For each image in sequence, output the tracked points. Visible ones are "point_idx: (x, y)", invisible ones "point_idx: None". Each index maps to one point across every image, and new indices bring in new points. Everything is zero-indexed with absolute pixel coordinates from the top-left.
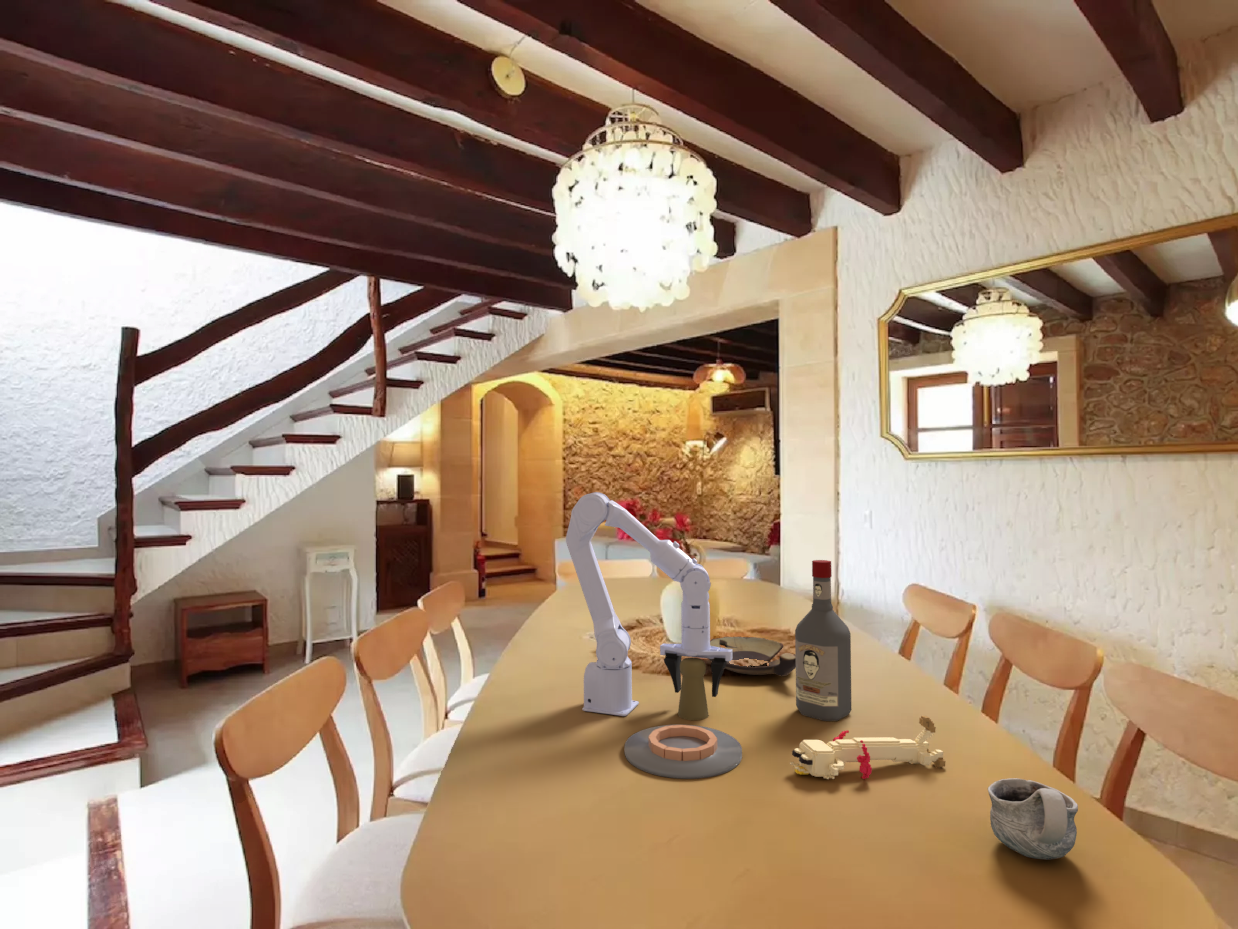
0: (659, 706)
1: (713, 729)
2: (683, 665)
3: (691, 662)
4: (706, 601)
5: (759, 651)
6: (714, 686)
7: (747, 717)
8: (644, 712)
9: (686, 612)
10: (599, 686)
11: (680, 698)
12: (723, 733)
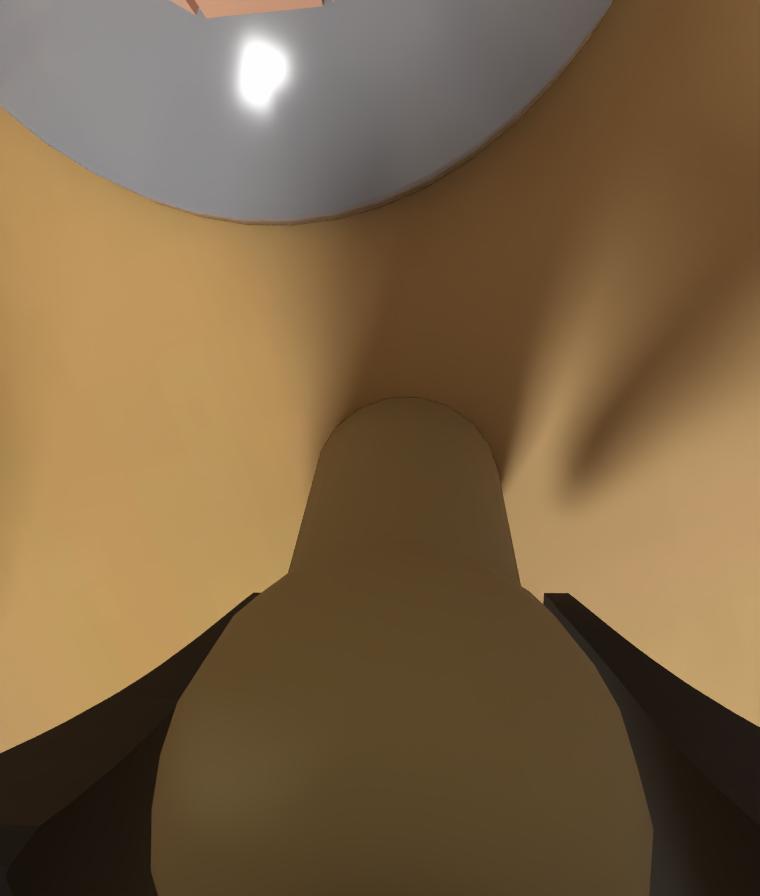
0: (641, 548)
1: (159, 187)
2: (544, 693)
3: (352, 792)
4: None
5: None
6: (213, 634)
7: (120, 547)
8: (720, 418)
9: None
10: None
11: (493, 482)
12: (72, 140)
